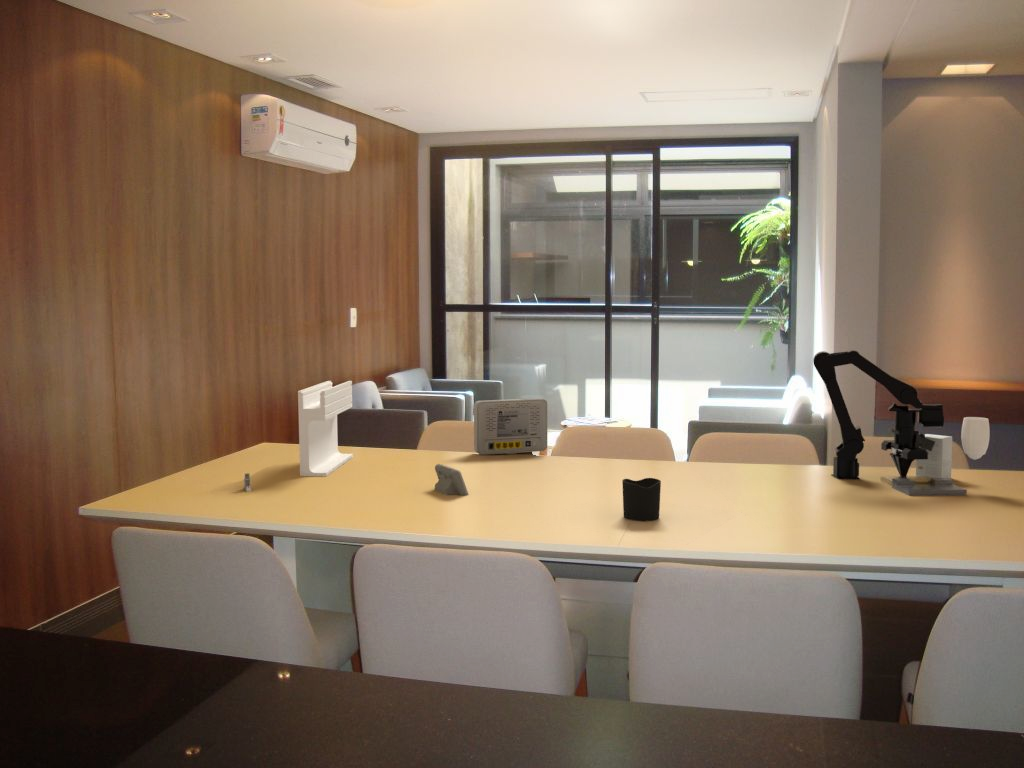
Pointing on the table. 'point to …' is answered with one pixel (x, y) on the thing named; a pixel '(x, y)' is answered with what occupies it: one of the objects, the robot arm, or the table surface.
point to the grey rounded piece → (975, 436)
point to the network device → (510, 426)
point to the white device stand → (321, 427)
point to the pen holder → (641, 499)
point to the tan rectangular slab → (916, 478)
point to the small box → (936, 458)
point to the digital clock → (450, 481)
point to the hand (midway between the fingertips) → (903, 478)
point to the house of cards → (247, 483)
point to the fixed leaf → (928, 487)
